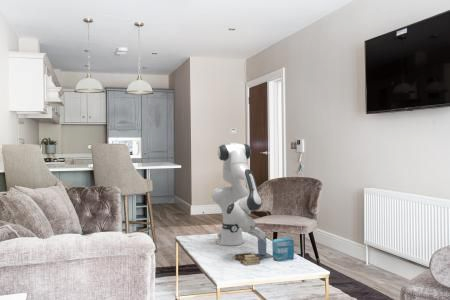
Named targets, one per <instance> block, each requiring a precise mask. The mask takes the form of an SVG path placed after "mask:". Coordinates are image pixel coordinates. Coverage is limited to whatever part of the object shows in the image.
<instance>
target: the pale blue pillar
mask: <svg viewBox="0 0 450 300" xmlns="http://www.w3.org/2000/svg"><path fill="white" fill-rule="evenodd" d="M261 231H262V230H261ZM262 232H264V233H265V234H266V235H267V233H266V232H265V231H262ZM265 239H266V240H267V236H266V237H265ZM266 253H267V241H266V242H264V241H263V240H262V239H260V238H257V254H261V255H266Z"/></svg>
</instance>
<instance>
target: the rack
mask: <svg viewBox="0 0 450 300" xmlns="http://www.w3.org/2000/svg"><path fill="white" fill-rule="evenodd" d="M251 254H252V253H251V252H247V253H246V252H245V253H237V254H236V253H235V254H234V260H235V261H240V264H242V261H244V255H251ZM256 257H257V256H256Z"/></svg>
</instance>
